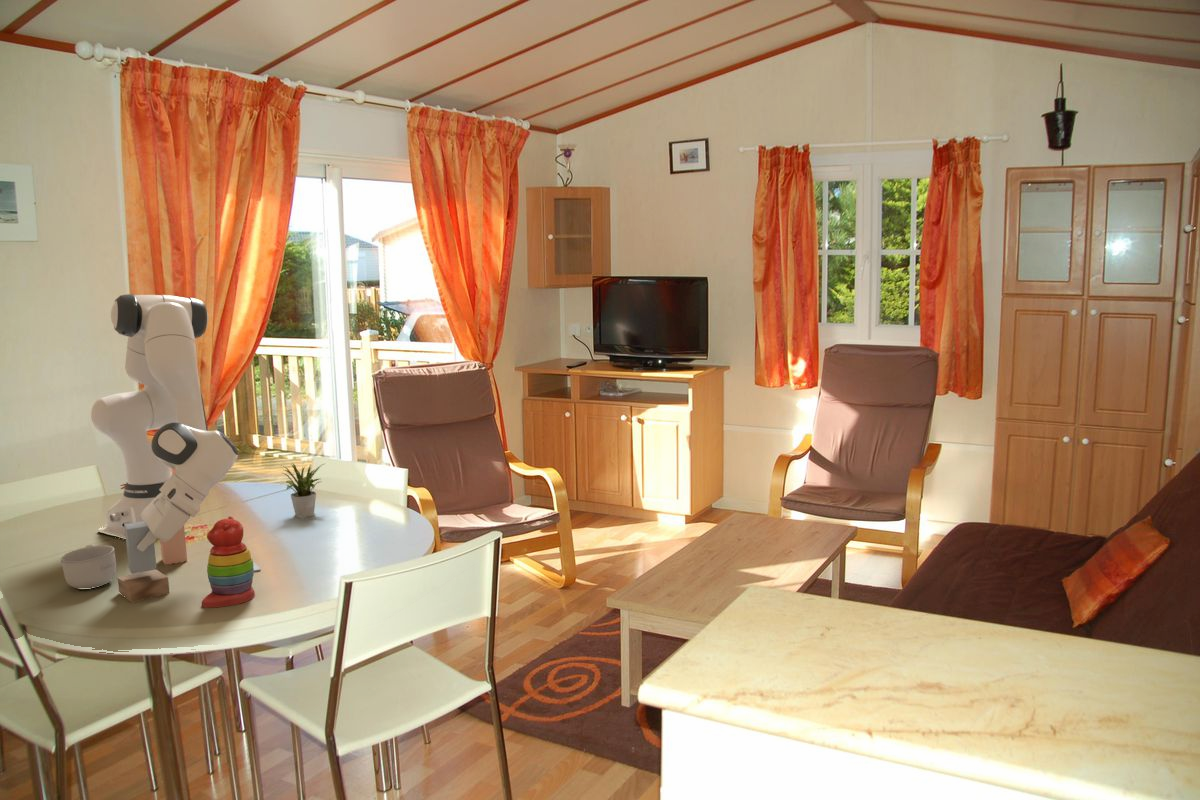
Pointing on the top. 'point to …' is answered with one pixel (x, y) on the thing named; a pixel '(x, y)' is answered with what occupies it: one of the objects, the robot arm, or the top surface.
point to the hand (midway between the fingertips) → (136, 545)
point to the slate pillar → (137, 558)
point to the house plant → (303, 491)
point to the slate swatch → (256, 568)
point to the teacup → (89, 566)
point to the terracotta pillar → (174, 548)
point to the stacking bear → (228, 566)
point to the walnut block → (143, 585)
